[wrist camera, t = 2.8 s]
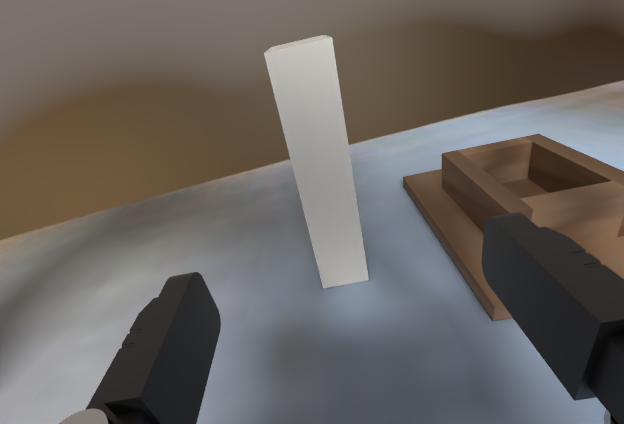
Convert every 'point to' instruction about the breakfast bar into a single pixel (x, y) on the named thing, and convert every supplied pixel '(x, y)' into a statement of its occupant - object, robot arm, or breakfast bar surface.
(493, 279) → the robot arm
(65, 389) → the breakfast bar surface
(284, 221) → the breakfast bar surface
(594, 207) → the walnut rack
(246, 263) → the breakfast bar surface
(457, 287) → the breakfast bar surface
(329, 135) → the clay bar
